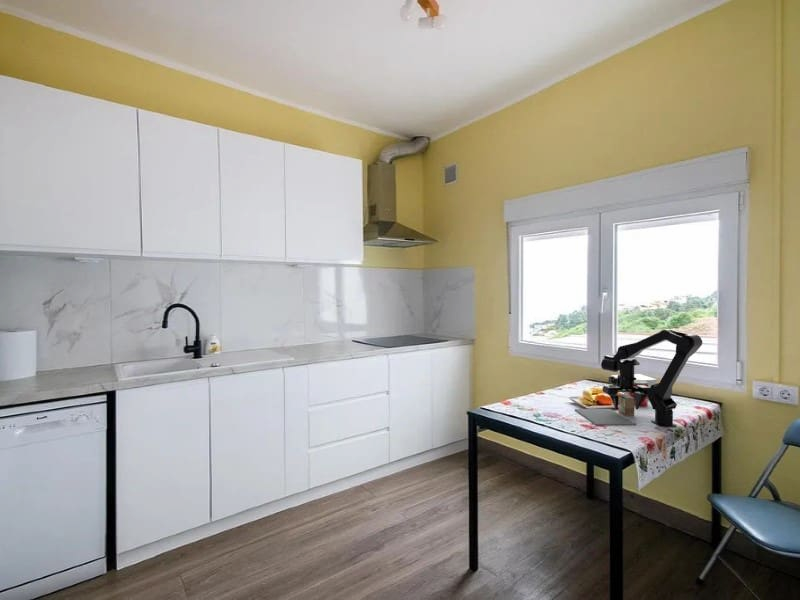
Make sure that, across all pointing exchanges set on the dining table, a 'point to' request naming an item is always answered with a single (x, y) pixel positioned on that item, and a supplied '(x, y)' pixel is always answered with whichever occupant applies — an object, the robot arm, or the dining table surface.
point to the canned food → (632, 394)
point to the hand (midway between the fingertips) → (626, 409)
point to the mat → (604, 417)
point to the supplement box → (639, 377)
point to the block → (626, 405)
